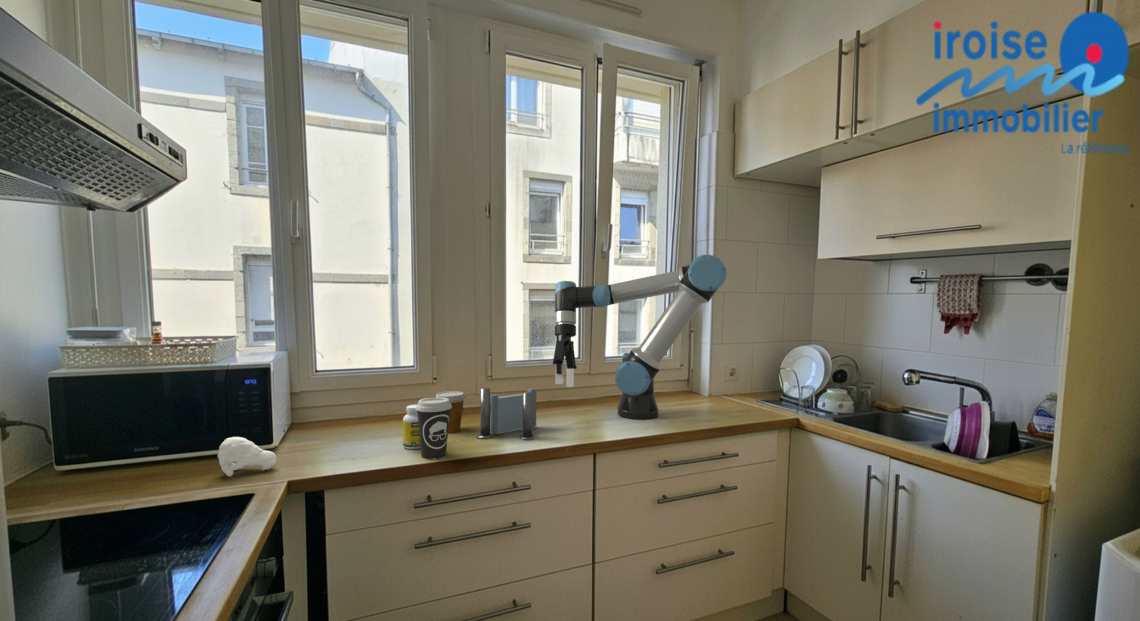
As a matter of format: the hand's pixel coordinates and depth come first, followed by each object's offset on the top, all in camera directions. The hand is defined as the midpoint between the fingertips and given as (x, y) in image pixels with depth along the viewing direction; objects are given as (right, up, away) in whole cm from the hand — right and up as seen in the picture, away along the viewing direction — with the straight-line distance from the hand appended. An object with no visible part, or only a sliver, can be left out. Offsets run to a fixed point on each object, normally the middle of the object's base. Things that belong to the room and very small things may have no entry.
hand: (565, 385), depth 160 cm
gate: (-16, -13, -8) cm, 22 cm away
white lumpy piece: (-77, -14, -45) cm, 90 cm away
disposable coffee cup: (-37, -13, -8) cm, 40 cm away
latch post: (-11, -13, -16) cm, 24 cm away
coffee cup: (-36, -14, -32) cm, 50 cm away
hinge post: (-25, -13, -15) cm, 32 cm away
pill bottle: (-43, -14, -25) cm, 52 cm away
